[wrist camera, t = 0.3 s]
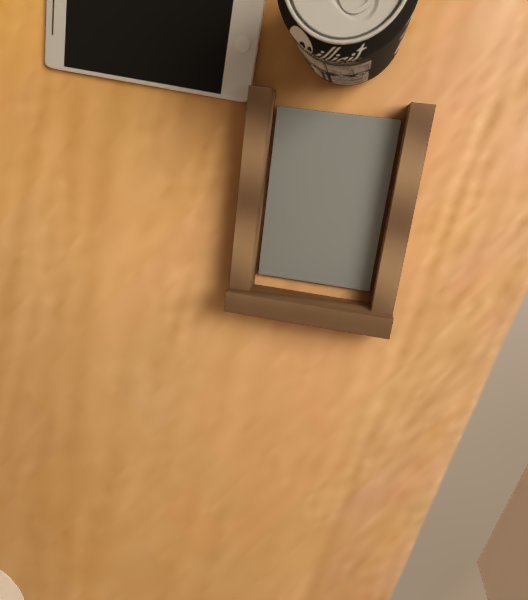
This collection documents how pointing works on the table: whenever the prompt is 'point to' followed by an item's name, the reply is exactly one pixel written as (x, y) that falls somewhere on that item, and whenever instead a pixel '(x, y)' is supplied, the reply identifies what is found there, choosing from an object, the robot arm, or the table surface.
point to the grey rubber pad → (327, 196)
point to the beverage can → (347, 35)
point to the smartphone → (159, 42)
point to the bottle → (9, 588)
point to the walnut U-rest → (401, 209)
